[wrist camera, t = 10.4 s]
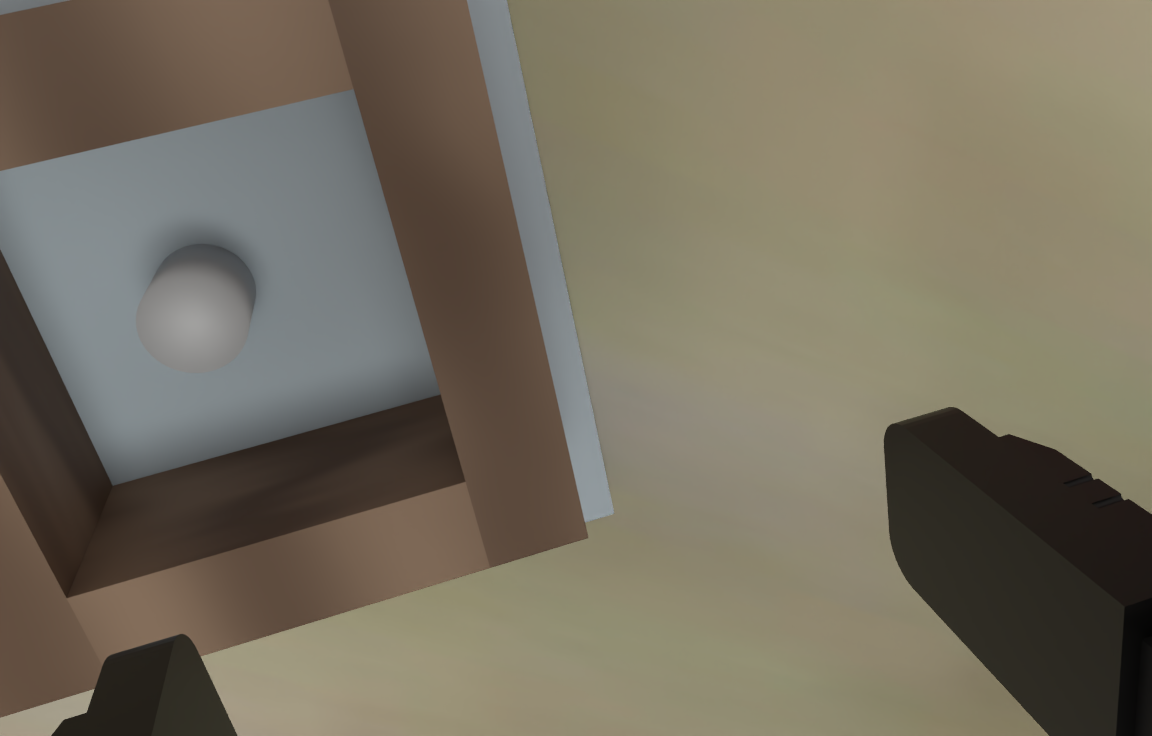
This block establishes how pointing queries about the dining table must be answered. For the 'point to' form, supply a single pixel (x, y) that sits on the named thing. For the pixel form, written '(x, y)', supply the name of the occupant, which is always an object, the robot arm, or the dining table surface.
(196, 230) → the peg board
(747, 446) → the dining table surface
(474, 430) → the frame
